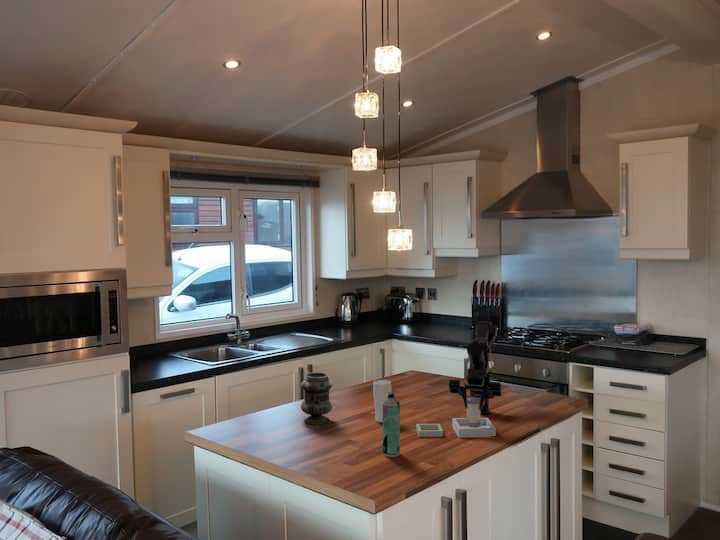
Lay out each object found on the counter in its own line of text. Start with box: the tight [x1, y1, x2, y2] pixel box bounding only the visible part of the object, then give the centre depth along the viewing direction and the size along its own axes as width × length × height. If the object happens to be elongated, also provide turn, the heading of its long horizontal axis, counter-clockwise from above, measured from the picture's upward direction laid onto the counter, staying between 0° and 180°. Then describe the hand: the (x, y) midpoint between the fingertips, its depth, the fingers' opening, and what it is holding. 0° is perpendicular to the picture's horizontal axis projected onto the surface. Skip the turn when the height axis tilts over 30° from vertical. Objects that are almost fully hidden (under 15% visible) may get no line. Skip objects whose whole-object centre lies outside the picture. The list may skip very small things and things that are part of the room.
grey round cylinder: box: [466, 396, 481, 428], centre depth 224 cm, size 5×5×10 cm
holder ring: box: [415, 423, 444, 438], centre depth 223 cm, size 8×8×2 cm
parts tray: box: [452, 417, 497, 439], centre depth 224 cm, size 13×13×3 cm
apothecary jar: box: [300, 371, 333, 426], centre depth 237 cm, size 12×12×18 cm
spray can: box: [382, 391, 401, 458], centre depth 201 cm, size 6×6×20 cm
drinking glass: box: [372, 379, 392, 424], centre depth 237 cm, size 7×7×15 cm
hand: (473, 408), depth 222 cm, fingers closed on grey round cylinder, 5 cm apart
